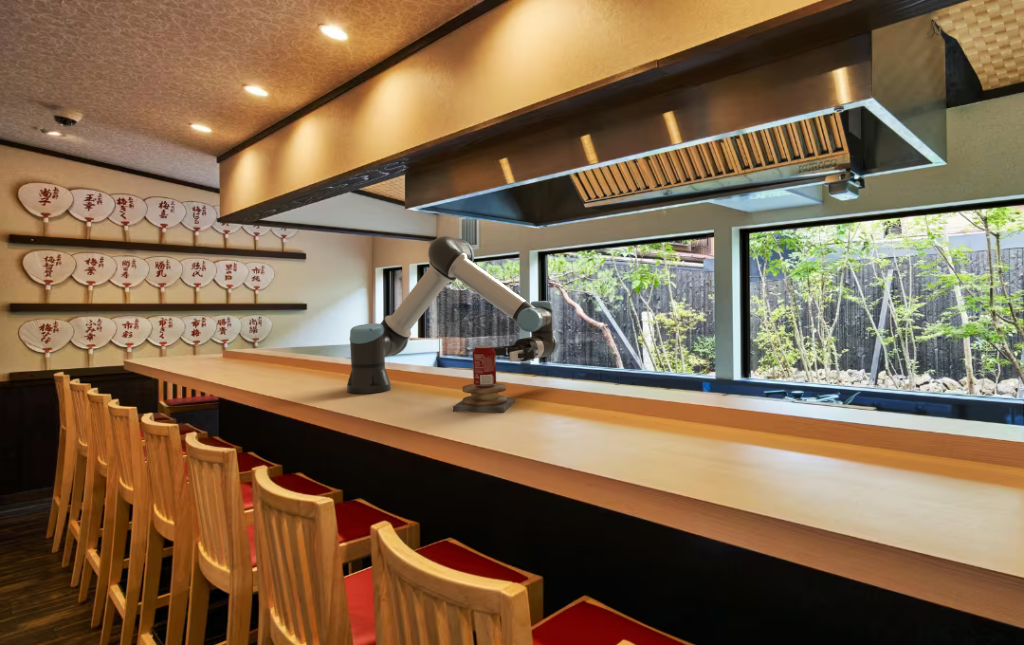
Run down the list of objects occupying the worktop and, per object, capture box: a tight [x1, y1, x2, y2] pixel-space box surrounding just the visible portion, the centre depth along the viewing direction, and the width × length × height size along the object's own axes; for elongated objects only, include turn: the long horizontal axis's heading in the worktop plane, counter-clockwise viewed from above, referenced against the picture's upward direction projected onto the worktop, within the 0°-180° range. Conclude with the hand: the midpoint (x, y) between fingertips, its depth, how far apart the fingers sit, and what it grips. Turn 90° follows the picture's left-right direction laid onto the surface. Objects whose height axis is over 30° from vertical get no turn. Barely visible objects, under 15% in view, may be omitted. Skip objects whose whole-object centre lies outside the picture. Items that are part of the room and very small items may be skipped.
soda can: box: [472, 344, 497, 388], centre depth 166 cm, size 7×7×12 cm
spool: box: [452, 382, 516, 414], centre depth 167 cm, size 15×15×6 cm
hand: (491, 356), depth 169 cm, fingers open, 13 cm apart
